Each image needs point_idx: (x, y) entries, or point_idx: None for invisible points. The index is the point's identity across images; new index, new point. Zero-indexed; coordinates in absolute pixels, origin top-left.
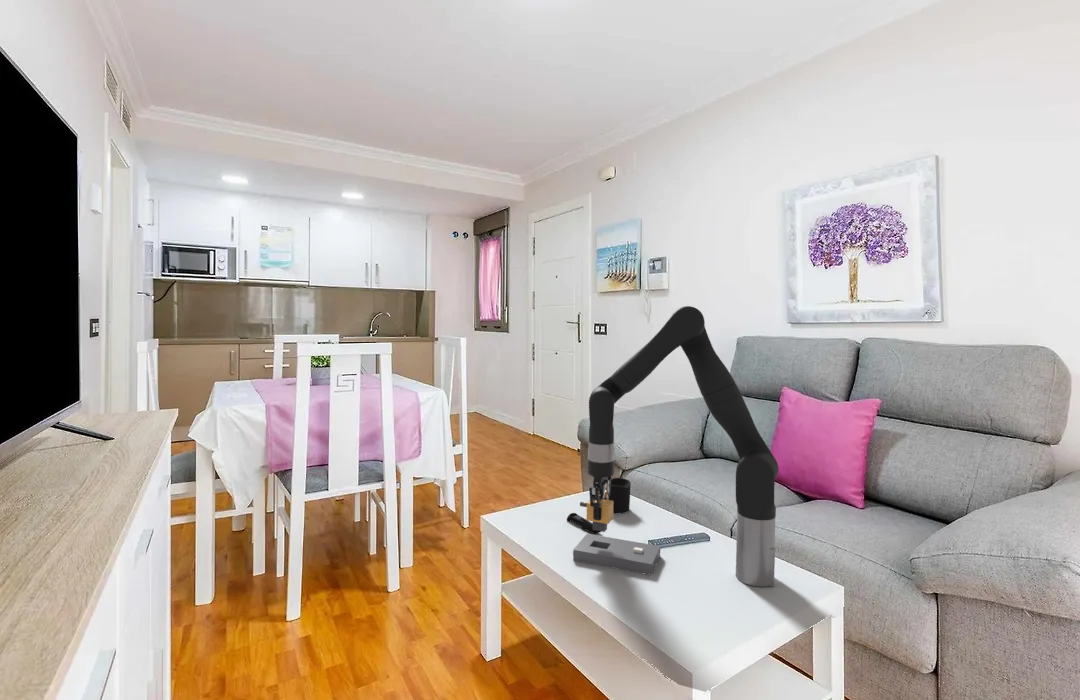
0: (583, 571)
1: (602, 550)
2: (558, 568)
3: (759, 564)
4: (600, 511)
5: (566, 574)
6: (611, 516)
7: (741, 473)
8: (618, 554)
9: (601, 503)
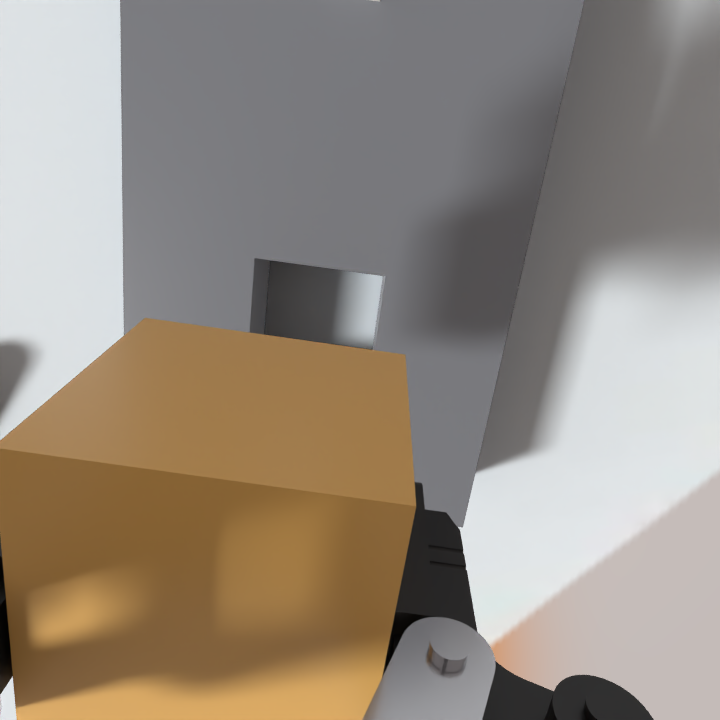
0: (613, 390)
1: (422, 311)
2: (594, 542)
3: None
4: (428, 570)
5: (672, 485)
6: (226, 350)
7: None
8: (470, 153)
9: (431, 684)
